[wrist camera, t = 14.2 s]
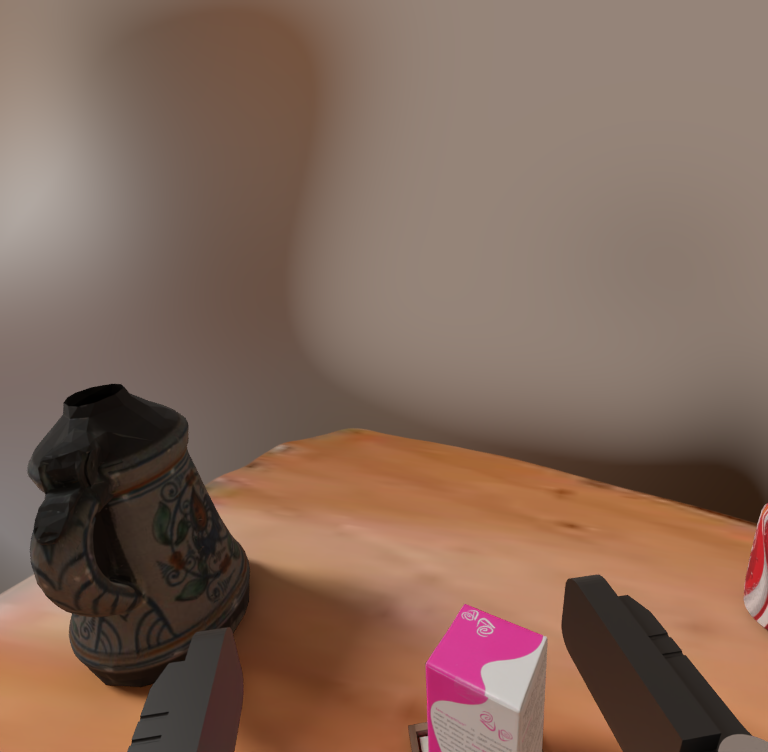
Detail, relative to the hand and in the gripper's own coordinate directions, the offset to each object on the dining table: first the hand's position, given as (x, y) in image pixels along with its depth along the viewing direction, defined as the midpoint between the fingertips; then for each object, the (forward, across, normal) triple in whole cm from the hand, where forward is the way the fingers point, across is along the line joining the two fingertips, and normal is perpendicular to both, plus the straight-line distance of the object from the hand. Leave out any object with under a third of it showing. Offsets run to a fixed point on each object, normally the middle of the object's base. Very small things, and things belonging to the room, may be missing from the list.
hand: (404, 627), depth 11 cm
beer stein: (+28, +20, +29) cm, 45 cm away
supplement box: (+10, -6, +27) cm, 30 cm away
